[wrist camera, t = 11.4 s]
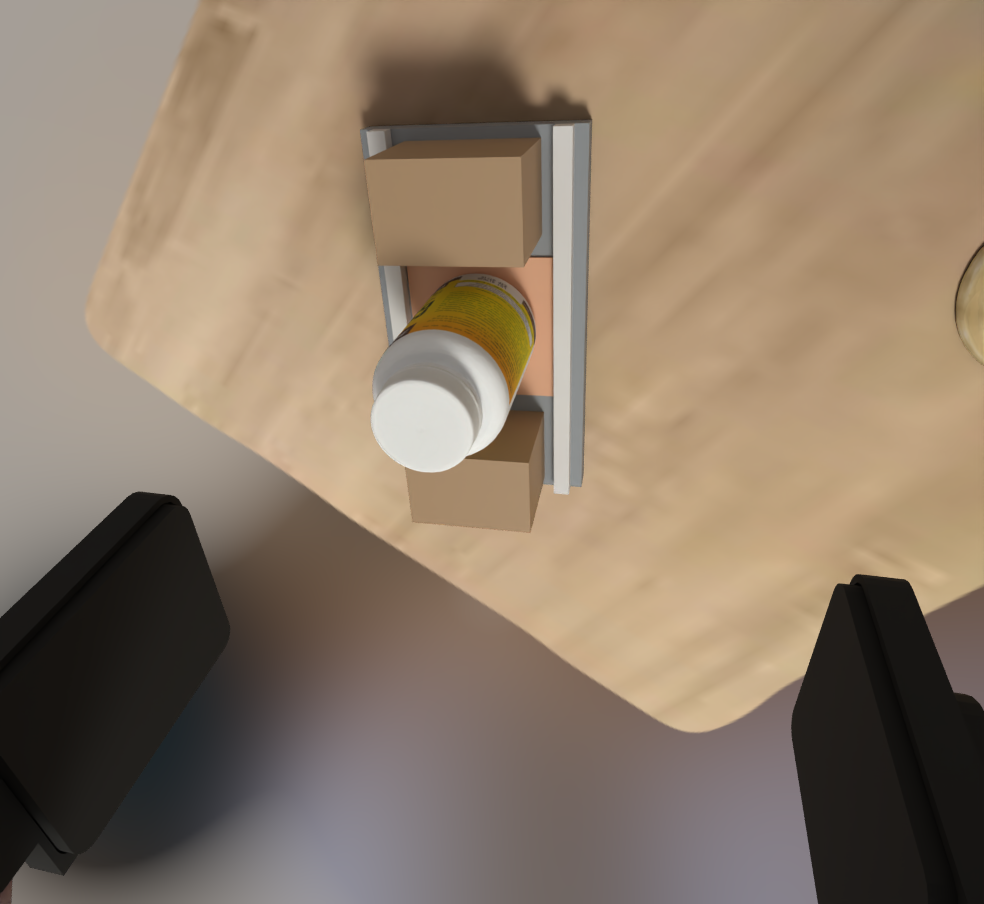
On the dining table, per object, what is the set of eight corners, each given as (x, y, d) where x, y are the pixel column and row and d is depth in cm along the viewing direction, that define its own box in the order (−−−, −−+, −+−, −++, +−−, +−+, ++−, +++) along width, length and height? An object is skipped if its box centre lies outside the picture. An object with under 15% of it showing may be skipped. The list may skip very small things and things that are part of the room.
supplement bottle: (445, 250, 32) (367, 333, 24) (555, 297, 32) (517, 396, 24) (414, 352, 35) (335, 457, 27) (514, 394, 35) (468, 512, 27)
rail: (369, 126, 31) (311, 146, 26) (592, 119, 29) (577, 140, 24) (412, 462, 41) (376, 526, 35) (583, 475, 39) (571, 544, 33)
